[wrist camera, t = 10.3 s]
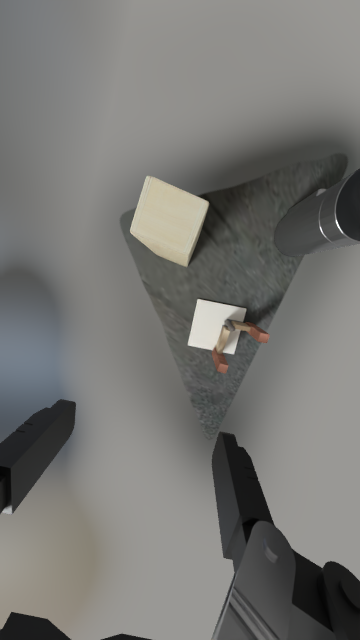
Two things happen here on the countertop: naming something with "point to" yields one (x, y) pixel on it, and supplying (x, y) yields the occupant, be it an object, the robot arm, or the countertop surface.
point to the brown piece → (249, 330)
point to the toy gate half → (221, 351)
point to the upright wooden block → (169, 220)
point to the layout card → (214, 325)
